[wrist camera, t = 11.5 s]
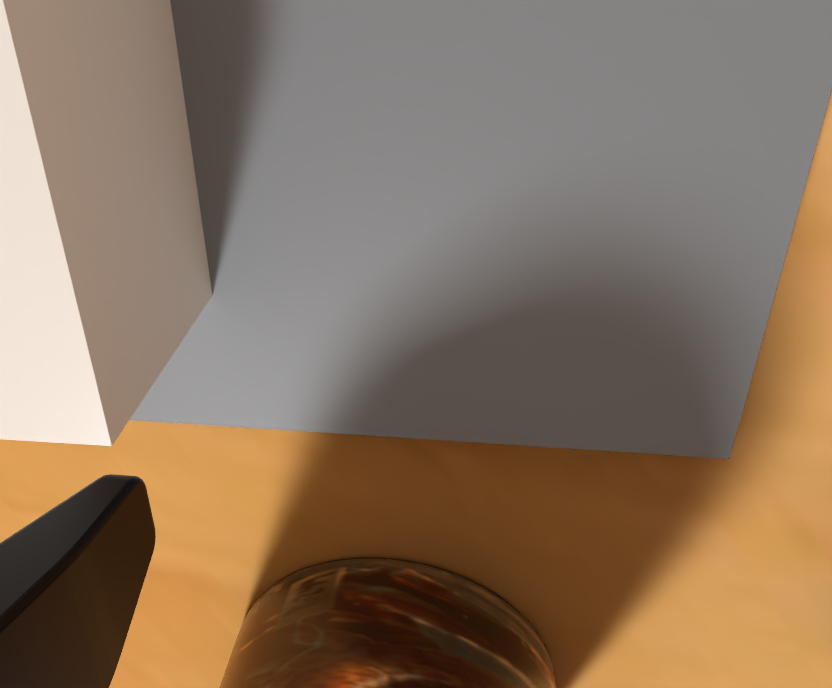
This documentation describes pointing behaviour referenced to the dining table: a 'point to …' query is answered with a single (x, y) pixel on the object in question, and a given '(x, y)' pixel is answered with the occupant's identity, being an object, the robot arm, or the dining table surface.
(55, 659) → the robot arm
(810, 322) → the dining table surface
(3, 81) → the housing
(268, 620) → the jar
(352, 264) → the board
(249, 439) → the dining table surface
